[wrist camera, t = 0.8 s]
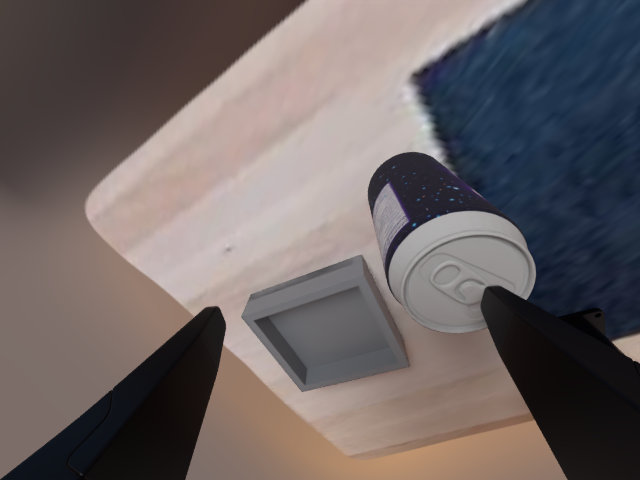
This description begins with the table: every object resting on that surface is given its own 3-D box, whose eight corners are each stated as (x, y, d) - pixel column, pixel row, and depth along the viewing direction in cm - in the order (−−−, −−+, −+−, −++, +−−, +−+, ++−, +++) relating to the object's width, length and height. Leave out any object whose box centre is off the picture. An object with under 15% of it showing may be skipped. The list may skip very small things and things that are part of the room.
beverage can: (407, 233, 23) (463, 358, 13) (352, 197, 22) (361, 301, 11) (460, 178, 21) (583, 275, 10) (400, 132, 19) (470, 190, 9)
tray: (403, 341, 29) (409, 366, 26) (305, 367, 32) (302, 392, 30) (361, 254, 24) (363, 274, 22) (250, 294, 27) (241, 316, 25)
